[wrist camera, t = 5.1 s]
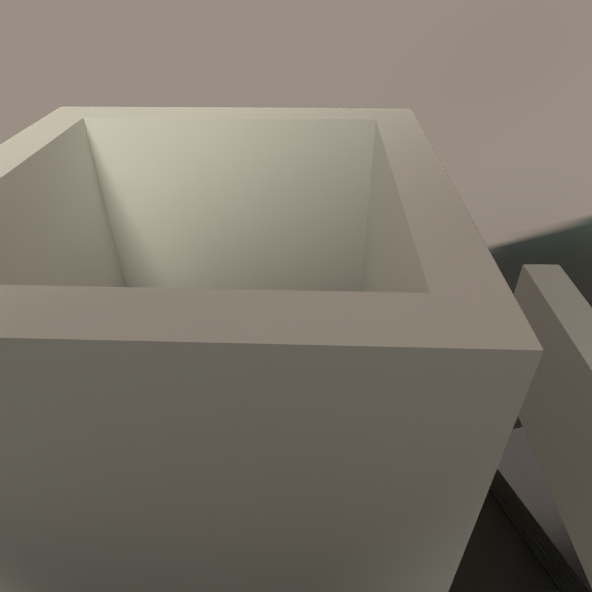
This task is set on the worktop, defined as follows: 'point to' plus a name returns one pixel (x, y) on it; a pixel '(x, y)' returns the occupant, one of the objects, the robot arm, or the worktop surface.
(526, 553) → the worktop surface
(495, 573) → the worktop surface
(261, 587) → the sleeve
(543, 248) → the worktop surface
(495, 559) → the worktop surface
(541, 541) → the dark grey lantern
